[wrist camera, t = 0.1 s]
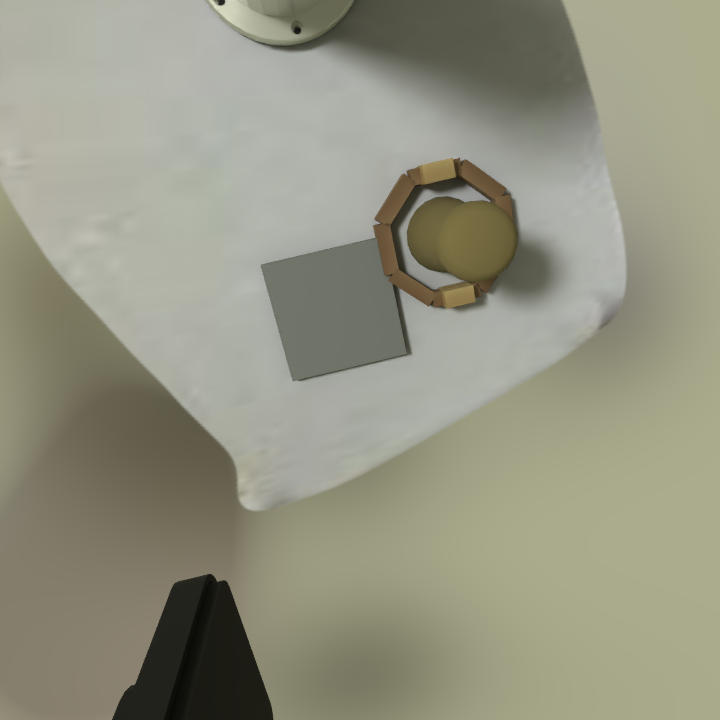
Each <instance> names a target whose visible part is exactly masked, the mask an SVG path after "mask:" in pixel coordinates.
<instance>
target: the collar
mask: <svg viewBox="0 0 720 720" xmlns="http://www.w3.org/2000/svg"><path fill="white" fill-rule="evenodd" d="M407 175H408V176H406V175H405V174H402V175H401V176H400V178H399V180H398V181H397V183H396V184H395V186H394V188H393V189H392V191H391V193H390V194H389V196H388V197H387V199H386V201H385V202H384V204H383V206H382V207H381V209H380V210H379V212H378V214H377V215H376V217H375V220H376V221H378V222H379V223H381V224H377V225H373V228H374V233H375V237H376V238H377V242H378V247H379V252H380V257H381V261H382V266H383V271H384V275H385V276H386V275H391V276H390V278H389V279H388V281H389V282H391V283H393V284H394V285H396V286H397V287H399V288H400V289H402V290H404V291H405V292H407V293H408V294H410V295H411V296H413V297H415V298H416V299H418V300H419V301H421V302H422V303H424V304H426V305H427V306H429V305H430V304H431V305H432V306H434V307H439V306H444V307H446V308H452V307H456V306H460V305H464V304H469V303H473V302H476V300H475V298H476V297H481V291H480V289H481V290H482V291H484V292H486V293H487V291H488V290H489V288H490V287H491V286H492V284H493V283H494V281H495V280H496V278H497V277H498V276H495V277H493V278H491V279H488V280H486V281H481V282H466V281H465V282H461V283H456V284H452V285H448V286H444V287H439V288H438V289H436V290H432V291H431V290H430V289H428V288H427V287H425V286H424V285H422V284H421V283H419V282H417V281H416V280H414V279H413V278H411V277H410V276H408V275H407V274H405V273H404V272H402V271H400V270H399V268H398V263H397V258H396V253H395V248H394V243H393V238H392V233H391V228H390V225H391V223H392V221H393V220H394V218H395V217H396V215H397V213H398V212H399V210H400V209H401V207H402V205H403V204H404V202H405V201H406V199H407V197H408V196H409V194H410V193H411V191H412V189H413V188H414V186H415V185H418V184H419V185H425V184H429V183H433V182H437V181H442V180H446V179H450V178H455V177H456V176H457V177H458V178H460V179H461V180H462V181H464V182H465V183H467V184H468V185H469V186H471V187H472V188H474V189H475V190H476V191H478V192H479V193H481V194H482V195H483V196H485V197H486V198H488V199H489V200H490V201H491V203H495V204H497V205H498V206H499V207H501V208H502V209H504V210H505V211H506V212H507V213H508V215H509V216H510V217H511V219H512V220H513V213H512V206H511V198H510V194H507V195H503V194H504V192H505V191H506V188H505V187H504V186H502V185H501V184H500V183H498V182H497V181H495V180H494V179H493V178H491V177H490V176H489V175H487V174H486V173H484V172H483V171H482V170H480V169H479V168H477V167H476V166H475V165H473V164H472V163H471V162H469V161H468V160H463V161H462V162H460V158H458V159H454V160H453V158H450V159H446V160H442V161H438V162H433V163H429V164H425V165H421V166H418V167H416V168H415V169H411V170H408V171H407Z"/></svg>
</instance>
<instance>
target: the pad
mask: <svg viewBox="0 0 720 720" xmlns="http://www.w3.org/2000/svg"><path fill="white" fill-rule="evenodd" d="M261 268H262V272H263V275H264V279H265V283H266V286H267V290H268V293H269V297H270V301H271V304H272V308H273V312H274V315H275V319H276V322H277V326H278V330H279V333H280V337H281V340H282V344H283V348H284V351H285V355H286V359H287V362H288V366H289V369H290V373H291V377H292V380H293V381H296V380H300V379H304V378H308V377H312V376H317V375H321V374H325V373H329V372H333V371H338V370H342V369H346V368H350V367H354V366H359V365H363V364H367V363H371V362H375V361H379V360H384V359H388V358H392V357H396V356H400V355H405V354H407V353H406V348H405V343H404V338H403V333H402V328H401V323H400V319H399V314H398V309H397V304H396V299H395V294H394V289H393V284H392V283H391V282H389V281H388V279H389V278H390V276H391V275H386V276H385V275H384V271H383V266H382V261H381V257H380V252H379V247H378V242H377V238H373V239H369V240H365V241H360V242H356V243H352V244H348V245H343V246H339V247H335V248H330V249H326V250H322V251H318V252H313V253H309V254H305V255H301V256H296V257H292V258H288V259H284V260H279V261H275V262H271V263H267V264H262V265H261Z"/></svg>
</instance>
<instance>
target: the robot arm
mask: <svg viewBox="0 0 720 720" xmlns="http://www.w3.org/2000/svg"><path fill="white" fill-rule="evenodd" d="M206 1H207V3H208V4H209V6H210V7H211V9H212V10H213V11H214V12H215V13H216V14H217V15H218V16H219V17H220V18H221V19H222V20H223V21H224V22H225V23H226V24H228V25H229V26H230V27H232V28H233V29H234V30H236V31H237V32H238V33H240V34H242V35H244V36H246V37H248V38H250V39H253V40H255V41H258V42H262V43H266V44H270V45H285V46H289V45H295V44H301V43H305V42H308V41H310V40H313V39H315V38H317V37H320V36H321V35H323V34H324V33H326V32H327V31H329V30H330V29H332V28H333V27H334V26H335V25H336V24H337V23H338V22H339V21H340V20H341V19H342V18H343V17H344V16H345V15H346V13H347V12H348V10H349V9H350V7H351V6H352V4H353V3H354V1H355V0H225V4H224V5H222V6H220V5H219V4H218V2H219V0H206ZM295 28H299V29H301V33H300V34H295V33H294V30H295ZM112 720H273V713H272V707H271V703H270V700H269V697H268V695H267V692H266V689H265V686H264V683H263V680H262V678H261V675H260V672H259V669H258V666H257V663H256V661H255V658H254V655H253V652H252V650H251V647H250V644H249V641H248V638H247V635H246V632H245V629H244V627H243V624H242V621H241V618H240V615H239V612H238V610H237V607H236V604H235V601H234V598H233V596H232V593H231V590H230V587H229V585H228V583H227V582H226V581H224V580H223V581H219V582H217V581H216V579H215V577H214V576H213V575H212V574H208V575H203V576H200V577H195V578H191V579H187V580H182V581H178V582H176V583H175V584H174V585H173V587H172V589H171V591H170V594H169V597H168V599H167V602H166V605H165V607H164V610H163V613H162V616H161V618H160V620H159V623H158V626H157V628H156V631H155V634H154V637H153V639H152V642H151V644H150V647H149V650H148V652H147V655H146V657H145V660H144V663H143V665H142V668H141V671H140V673H139V676H138V679H137V681H136V684H135V685H132V686H130V687H129V688H128V689H127V690H126V691H125V692H124V694H123V696H122V698H121V700H120V702H119V704H118V706H117V709H116V712H115V714H114V716H113V719H112Z"/></svg>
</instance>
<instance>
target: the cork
mask: <svg viewBox="0 0 720 720" xmlns="http://www.w3.org/2000/svg"><path fill="white" fill-rule="evenodd" d="M407 242H408V246H409V249H410V251H411V254H412V256H413V257H414V258H415V259H416V261H417V262H418V263H419V264H421V265H422V266H424V267H425V268H427V269H429V270H434V271H438V272H444V271H448V272H449V273H451V274H452V275H454V276H455V277H457V278H459V279H460V280H464V281H469V282H481V281H486V280H488V279H491V278H493V277H495V276H498V275H499V274H500V273H501V272H502V271H504V270H505V269H506V268H507V267H508V265H509V264H510V262H511V261H512V259H513V258H514V255H515V251H516V248H517V230H516V227H515V224H514V221H513V220H512V219H511V217H510V216H509V215H508V213H507V212H506V211H505V210H504V209H502V208H501V207H499V206H498V205H497V204H495V203H491V202H487V201H484V200H482V201H470V202H466V203H465V202H463V201H461V200H459V199H456V198H452V197H448V196H446V197H436V198H433V199H431V200H429V201H427V202H425V203H424V204H422V205H421V206H420V207H419V208H418V209H417V210H416V211H415V213H414V214H413V216H412V218H411V219H410V222H409V226H408V230H407Z"/></svg>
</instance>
